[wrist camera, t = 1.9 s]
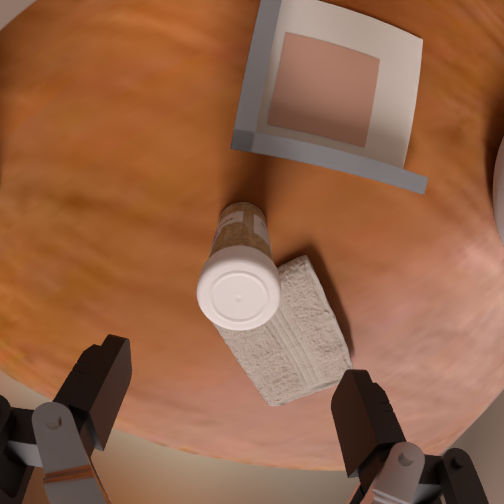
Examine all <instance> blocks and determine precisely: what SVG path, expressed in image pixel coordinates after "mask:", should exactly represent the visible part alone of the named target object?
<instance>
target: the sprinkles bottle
mask: <svg viewBox="0 0 504 504" xmlns="http://www.w3.org/2000/svg"><path fill="white" fill-rule="evenodd" d="M197 299H198V303H199V305H200V308H201V310H202V311H203V313H204V314H205V315H206V316H207V317H208V318H209V319H210V320H211V321H212V322H214V323H215V324H217V325H219V326H221V327H223V328H226V329H230V330H249V329H253V328H256V327H258V326H261V325H262V324H264V323H266V322H267V321H268V320H269V319H270V318H271V317H272V316H273V315H274V314H275V312H276V311H277V309H278V307H279V305H280V301H281V283H280V278H279V273H278V270H277V268H276V266H275V264H274V263H273V254H272V249H271V244H270V240H269V235H268V230H267V225H266V219H265V217H264V215H263V213H262V211H261V210H260V209H258V208H257V207H256V206H254V205H252V204H250V203H247V202H239V203H235V204H232V205H230V206H228V207H227V208H226V209H225V210H224V211H223V212H222V213H221V215H220V217H219V220H218V226H217V229H216V232H215V236H214V239H213V243H212V246H211V249H210V256H209V259H208V260H207V261H206V263H205V264H204V266H203V268H202V271H201V274H200V277H199V281H198V285H197Z"/></svg>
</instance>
